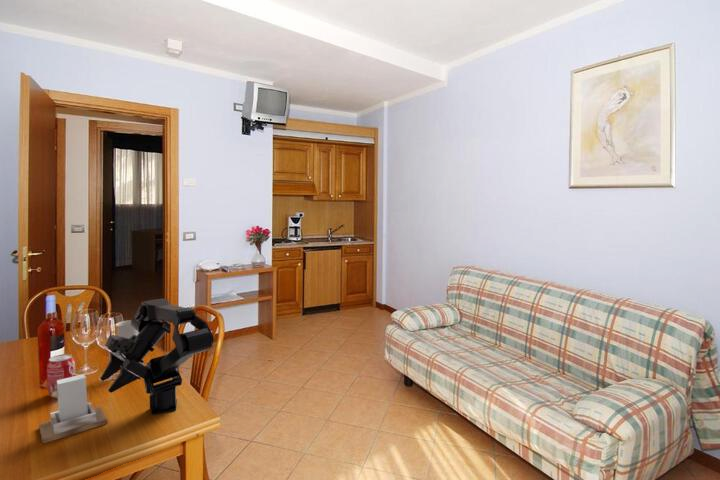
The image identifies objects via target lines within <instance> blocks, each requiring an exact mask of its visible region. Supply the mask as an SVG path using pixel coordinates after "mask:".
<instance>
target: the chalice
mask: <svg viewBox="0 0 720 480" xmlns="http://www.w3.org/2000/svg"><path fill="white" fill-rule="evenodd" d="M131 321H132V319H129V320H122V321H119V322H117V323H115V326H116V327H117V336H120V337H125V338H129V339H130V338H131V336H134V335H136V336H137V335H138V334H139V332H138V331H137V330H135V329H134V328H133V327H132V325H131Z"/></svg>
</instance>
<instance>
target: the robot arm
mask: <svg viewBox="0 0 720 480" xmlns="http://www.w3.org/2000/svg"><path fill="white" fill-rule="evenodd" d="M131 320H132V321H131V325H132V327H133V328H134V329H135V330H137V331H138V335H137V336H136V335H134V336H131V338H130V339H129V338H125V337H120V336H118V335H116V334H115V335H114V334H109V336H108V338H107V340H106V343H105V345H104V346H105V347H106V349H107V350H108V355H109V360H108V363H107V366H106V368H105V369H104V371H103V373H102V375H101V377H100V380H101V381H102V382H104V381H106V380H107V379H109V378H111V377H113V375H114V374H116V373H118V372H119V371H120V372H119V374H118V375H117V377H116V378H115V379H114V380H113V382H112V384H110V387H109V388H108V390H107V391H108V392H109V393H111V394H113V393H114V392H116V391H118V390H120V389H121V388H123V387H125V386H127V385H129V384H131V383H134V382H136V381H137V380H141V379H143V383H144V388H145V394H148V395H149V398H148V399H149V410H150V414H151V415H155V414H163V413H169V412H173V411H176V410H177V402H178V399H177V387H179V386H181V385H182V383H183V378H182V375H181V373H180V370H179V367H180V366H181V365H183V364H184V363H185V362H186V361H188V360H189V359H190V358H191V357H193V356H194V355H195V354H199V353H202V352H205V351H208V350H211V349H212V347H213V345H214V341H215V338H214V334H213V332H212V330H211V328H210V327H209V325H208V322H206V321H205V320H203V319H202V318H201V317H200V316H198V315H197V314H196V312H195V310H194V309H193V307H185V306H184V307H183V306H178V305H174V304H170V301H169V300H168V299H166V298H159V299H158V298H157V299H152V300H150V299H149V300H145V301H142V302H141V304H140V305H139V306H138V309H137V311H136V313H135V315H134V316H133V317H132V318H131ZM188 323H190V324H191V325H192V326H193V327H194V328H196V329H195V330H191V331H187V332H183V333H180V331H179V326H180V325H184V324H188ZM171 324H173V331H172V330H171ZM171 331H172V336H171V337H172V341H173V343H174V345H175V347H174V348H173V349H171V351H170V352H168V353H167V354H164V355H161V356H156V357H153V358H151V359H150V360H149V361H148V362H146V365H145V363H144V362H145V360H144V358H145V357H146V356H147V354H149V352H151V353H153V352H154V351H155V348H154V347H155V345H156V344H158V342H159V341H160V339H162V337H164V335H166V333H167V334H171Z"/></svg>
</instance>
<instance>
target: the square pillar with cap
mask: <svg viewBox="0 0 720 480" xmlns="http://www.w3.org/2000/svg"><path fill="white" fill-rule="evenodd" d="M52 395H53V396H54V397H56V396H58V398H57V407H58V410H57V411H59V417H58V418H59V423H60V422H64V421H67V420H70V419H74V418H77V417H81V416H84V415H88V411H87V403H88V398H87V397H88V396H87V395H88V393H87V377H86V376H85V374H84V373H83V374H79V375H75V376H74V377H69V378H65V379H61V380H57V391H55V392H53V394H52Z"/></svg>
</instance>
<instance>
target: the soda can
mask: <svg viewBox="0 0 720 480" xmlns="http://www.w3.org/2000/svg"><path fill="white" fill-rule="evenodd" d="M75 363H76V362H75V359H74V358H73V355H72V354H70V353H63V354H58V355H54V356H52V357H50V358H49V359H48V362H47V364H46V378H47V379H46V380H47V381H46V382H47V391H48V395H49V397H50V398H52V399H53V398H54V399H58V396H56V397H54V396H53V395H52V394H53V392H55V391H57V380H61V379H65V378H69V377H74V376H76V364H75Z"/></svg>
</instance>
